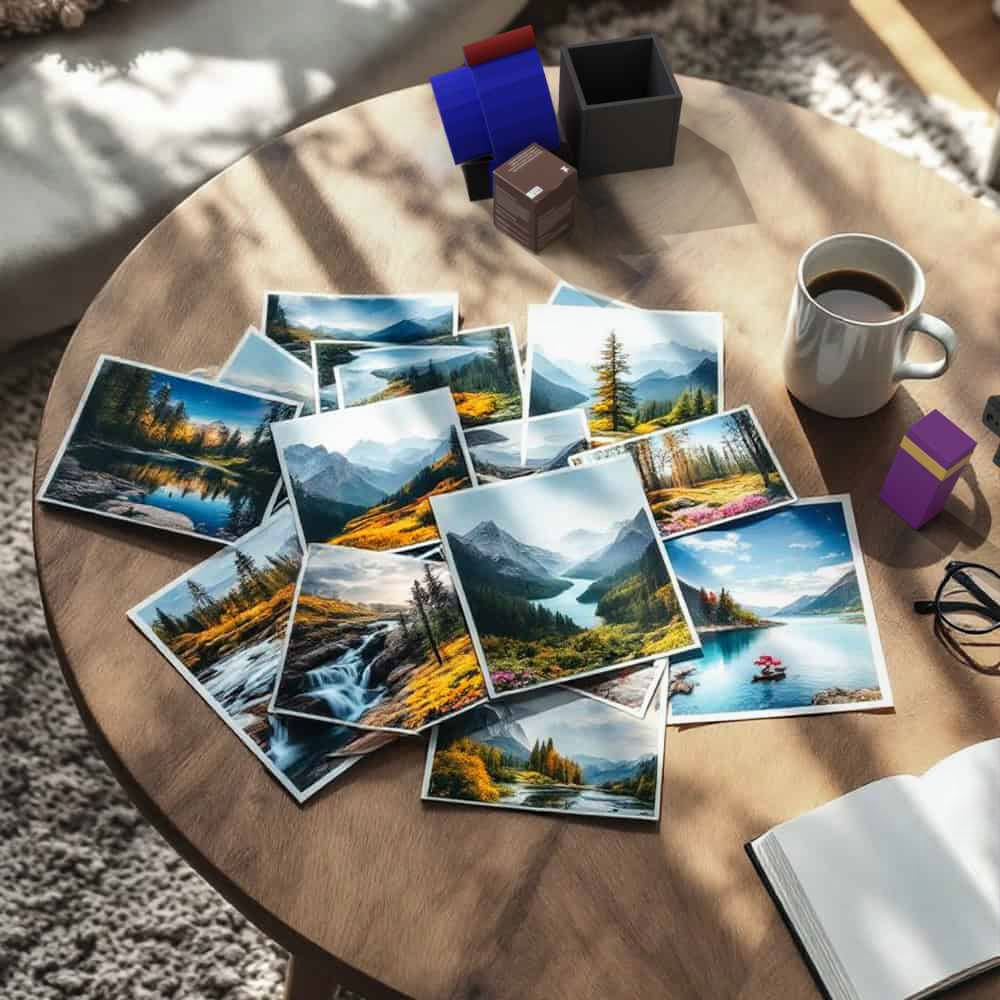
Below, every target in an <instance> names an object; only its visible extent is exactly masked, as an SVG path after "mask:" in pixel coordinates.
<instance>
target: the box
mask: <svg viewBox="0 0 1000 1000" xmlns="http://www.w3.org/2000/svg"><path fill="white" fill-rule="evenodd" d="M577 173H578V171H577V170H576V169H575V167H573V166H571V165H570V164H568V163H567V162H566V161H564V160H562V159H561V158H559V157H558V156H557V157H556V156H555V155H553V154H552V153H550V152H549V151H547V150H546V149H544V148H543V147H541V146H540V145H538V144H537V143H535V142H534V143H532V144H531V145H530V146H528V147H527V148H525V149H524V150H522V151H521V152H520V153H518V154H517V155H515V156H514V157H512V158H511V159H510V160H508V161H507V162H505V163H504V164H502V165H501V166H500V167H498V168H497V169H495V170H494V171H493V198H492V204H493V205H492V207H493V208H492V211H493V212H492V213H493V216H492V218H493V221H492V222H493V225H494V227H495V228H496V229H498V230H499V231H500V232H502V233H503V234H505V235H506V236H507V237H510V239H512V240H514V241H515V242H517V243H518V244H519V245H520V246H522V247H523V248H525V249H526V250H527V251H528V252H529V253H531V254H533V255H536V254H538V252H540V251H542V250H543V249H545V247H547V246H548V245H549V244H551V243H552V242H553V241H555V240H556V239H557V238H559V237H560V236H562V235H563V234H564V233H566V232H567V231H568V230H569V229H571V228H572V227H573V226H575V224H576V207H577V206H576V205H577V189H578V188H577V187H578V186H577V185H578V175H577Z"/></svg>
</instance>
